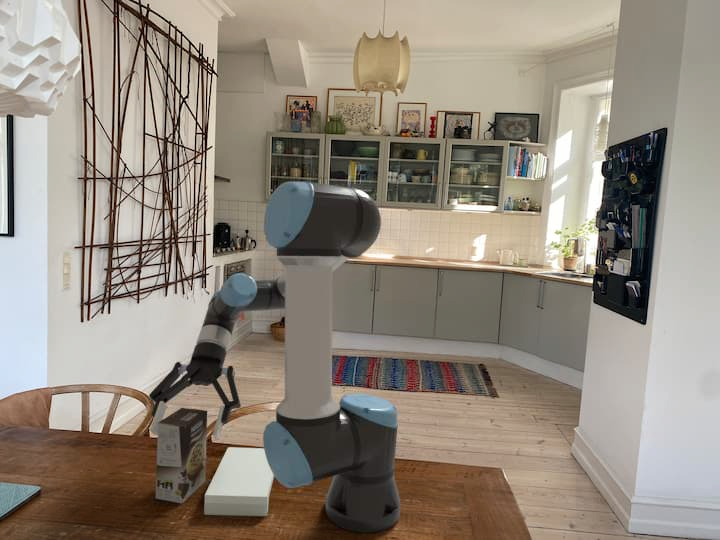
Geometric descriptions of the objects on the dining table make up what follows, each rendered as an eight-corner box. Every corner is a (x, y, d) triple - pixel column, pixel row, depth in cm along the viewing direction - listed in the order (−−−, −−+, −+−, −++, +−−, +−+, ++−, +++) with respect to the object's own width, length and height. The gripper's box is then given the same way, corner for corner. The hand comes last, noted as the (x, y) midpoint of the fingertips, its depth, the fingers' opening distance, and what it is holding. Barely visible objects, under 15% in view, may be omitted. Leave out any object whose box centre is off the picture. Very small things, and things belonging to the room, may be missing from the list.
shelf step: (278, 465, 114) (279, 448, 114) (266, 516, 94) (267, 496, 94) (227, 463, 113) (228, 447, 113) (204, 514, 93) (204, 494, 93)
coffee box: (183, 504, 96) (185, 426, 95) (154, 499, 98) (156, 422, 96) (206, 481, 105) (208, 409, 104) (180, 476, 106) (181, 406, 105)
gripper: (264, 359, 119) (245, 445, 105) (165, 352, 120) (133, 436, 107) (259, 344, 113) (238, 432, 100) (156, 336, 114) (121, 423, 101)
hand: (184, 435), depth 103 cm, fingers open, 13 cm apart
